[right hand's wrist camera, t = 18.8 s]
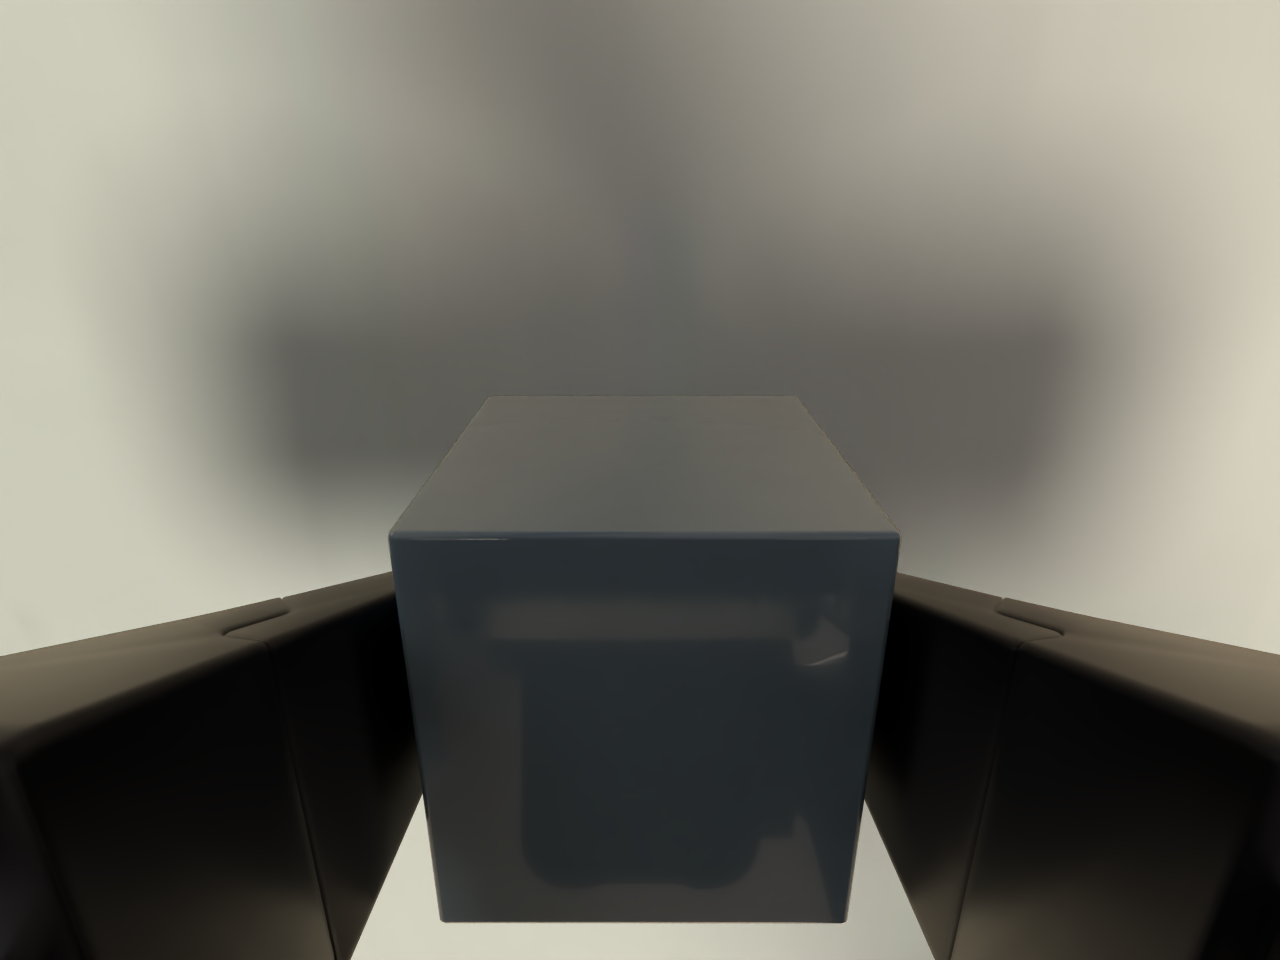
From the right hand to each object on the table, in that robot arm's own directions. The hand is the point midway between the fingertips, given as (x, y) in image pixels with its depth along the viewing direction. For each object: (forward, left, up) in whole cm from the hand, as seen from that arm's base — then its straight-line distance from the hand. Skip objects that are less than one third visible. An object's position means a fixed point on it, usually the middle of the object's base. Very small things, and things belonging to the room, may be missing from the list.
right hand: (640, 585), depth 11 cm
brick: (0, 0, -1) cm, 1 cm away
